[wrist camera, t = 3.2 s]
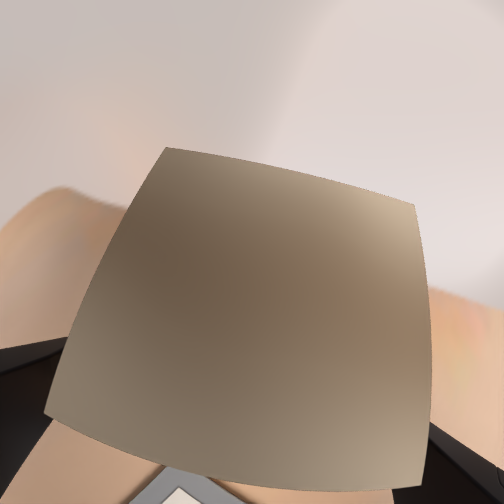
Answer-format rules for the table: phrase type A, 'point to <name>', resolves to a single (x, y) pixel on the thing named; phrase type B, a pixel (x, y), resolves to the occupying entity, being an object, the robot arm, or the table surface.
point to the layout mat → (184, 490)
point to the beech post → (256, 331)
